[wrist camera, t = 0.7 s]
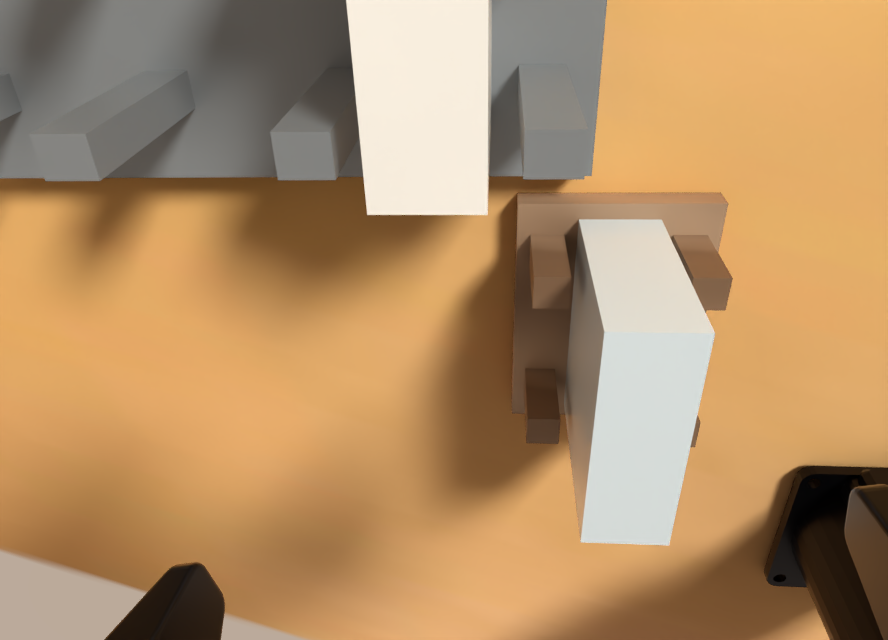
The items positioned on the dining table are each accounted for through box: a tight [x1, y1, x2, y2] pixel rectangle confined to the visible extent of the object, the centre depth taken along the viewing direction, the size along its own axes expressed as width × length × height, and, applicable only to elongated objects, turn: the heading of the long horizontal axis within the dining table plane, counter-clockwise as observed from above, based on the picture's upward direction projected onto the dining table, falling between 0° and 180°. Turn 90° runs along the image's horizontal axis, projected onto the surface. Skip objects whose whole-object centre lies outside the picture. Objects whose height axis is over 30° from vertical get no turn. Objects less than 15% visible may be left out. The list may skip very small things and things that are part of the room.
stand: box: [512, 193, 733, 447], centre depth 21 cm, size 8×6×3 cm
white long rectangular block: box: [564, 219, 715, 545], centre depth 20 cm, size 7×2×6 cm, turn 2°
